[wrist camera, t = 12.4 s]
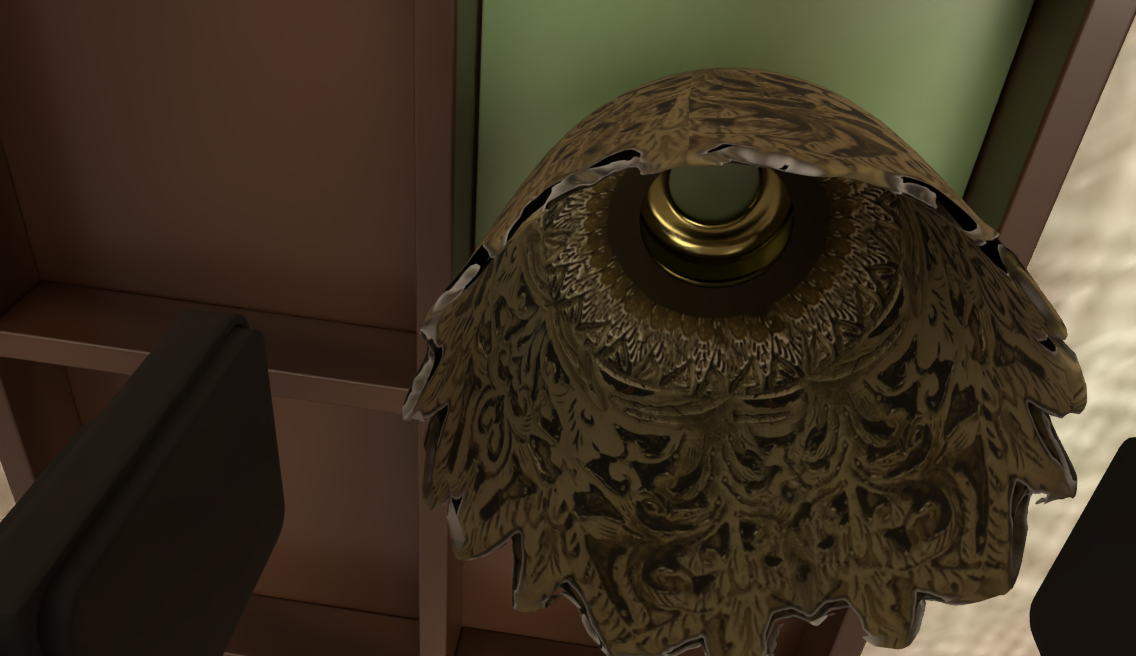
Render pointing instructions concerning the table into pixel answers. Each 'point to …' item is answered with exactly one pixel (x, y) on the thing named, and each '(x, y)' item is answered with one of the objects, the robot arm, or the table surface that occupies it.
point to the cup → (743, 379)
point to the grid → (421, 227)
